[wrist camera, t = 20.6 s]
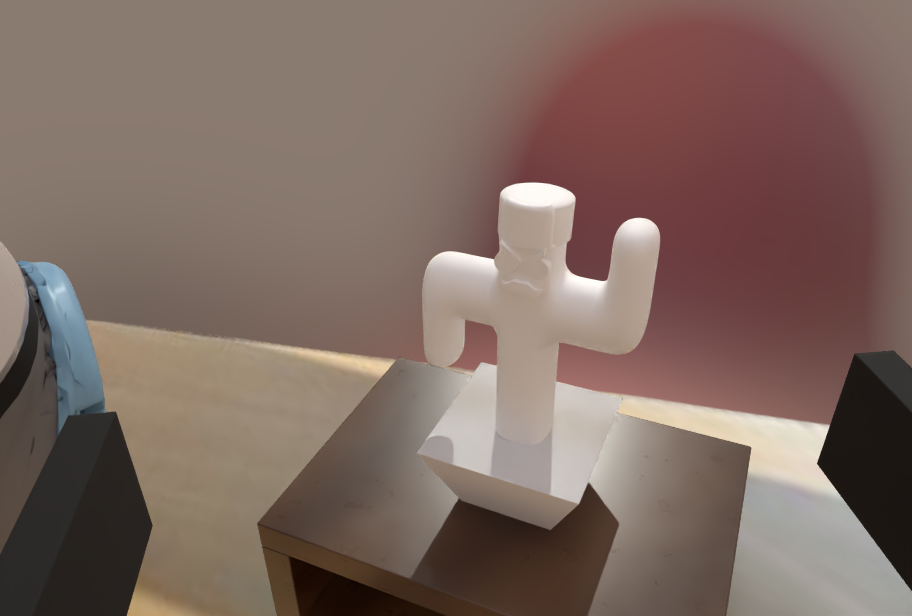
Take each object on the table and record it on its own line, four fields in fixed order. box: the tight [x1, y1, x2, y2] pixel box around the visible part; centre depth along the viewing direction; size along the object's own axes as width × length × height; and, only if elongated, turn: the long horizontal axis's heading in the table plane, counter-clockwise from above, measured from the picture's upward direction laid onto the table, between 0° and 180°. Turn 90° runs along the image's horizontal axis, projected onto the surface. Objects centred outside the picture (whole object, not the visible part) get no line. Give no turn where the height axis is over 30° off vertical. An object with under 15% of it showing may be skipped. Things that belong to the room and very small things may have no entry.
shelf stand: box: [257, 357, 751, 616], centre depth 38 cm, size 20×14×10 cm
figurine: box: [417, 183, 660, 530], centre depth 32 cm, size 7×9×15 cm
